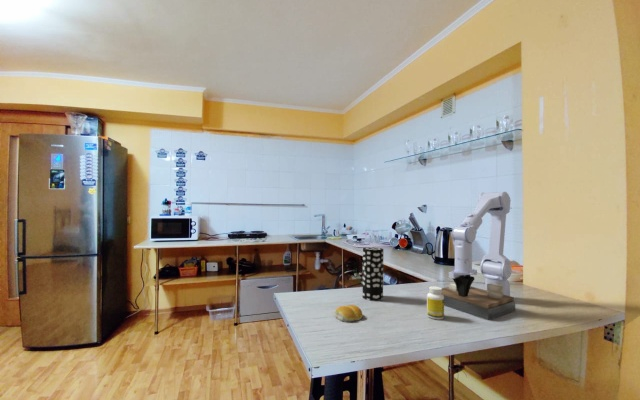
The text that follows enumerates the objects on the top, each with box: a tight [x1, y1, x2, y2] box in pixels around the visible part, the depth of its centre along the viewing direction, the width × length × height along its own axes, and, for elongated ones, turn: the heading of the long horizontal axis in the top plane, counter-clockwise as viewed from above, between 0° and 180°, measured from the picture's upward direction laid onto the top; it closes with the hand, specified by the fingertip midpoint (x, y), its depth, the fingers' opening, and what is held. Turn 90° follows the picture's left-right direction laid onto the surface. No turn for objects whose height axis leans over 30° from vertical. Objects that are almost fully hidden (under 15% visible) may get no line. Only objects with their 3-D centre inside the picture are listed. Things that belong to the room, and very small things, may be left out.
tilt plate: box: [441, 282, 515, 308], centre depth 107 cm, size 17×20×5 cm
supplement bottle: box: [426, 285, 445, 320], centre depth 95 cm, size 5×5×10 cm
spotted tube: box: [361, 247, 384, 302], centre depth 115 cm, size 8×8×20 cm
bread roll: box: [334, 304, 363, 323], centre depth 94 cm, size 8×9×4 cm
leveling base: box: [443, 295, 516, 321], centre depth 106 cm, size 18×21×4 cm
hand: (463, 295), depth 103 cm, fingers closed on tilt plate
